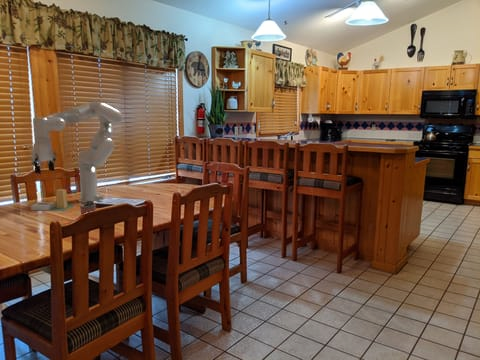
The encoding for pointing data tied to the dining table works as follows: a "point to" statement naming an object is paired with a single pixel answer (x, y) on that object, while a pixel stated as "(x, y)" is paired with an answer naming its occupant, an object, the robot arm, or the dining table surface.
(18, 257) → the dining table surface
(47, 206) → the board
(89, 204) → the lighter
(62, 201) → the plug
